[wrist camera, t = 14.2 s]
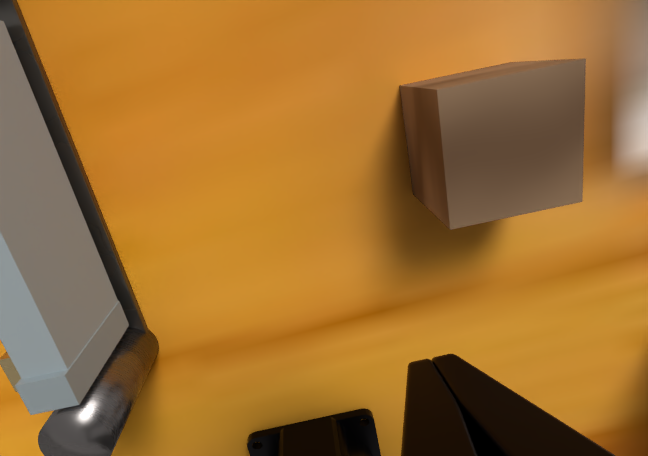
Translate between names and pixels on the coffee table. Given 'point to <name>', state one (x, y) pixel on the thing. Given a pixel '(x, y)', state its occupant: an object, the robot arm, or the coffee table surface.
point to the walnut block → (497, 140)
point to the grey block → (47, 259)
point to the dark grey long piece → (137, 342)
